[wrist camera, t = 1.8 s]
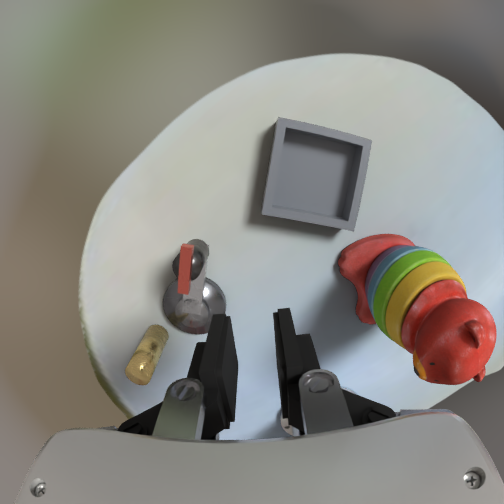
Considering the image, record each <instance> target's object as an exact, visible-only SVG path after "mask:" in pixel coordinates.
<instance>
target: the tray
mask: <svg viewBox="0 0 504 504" xmlns="http://www.w3.org/2000/svg"><path fill="white" fill-rule="evenodd" d="M371 143H372V140H369V139H366V138H362V137H359V136H356V135H352V134H349V133H345V132H341V131H338V130H334V129H330V128H326V127H322V126H318V125H314V124H309V123H305V122H300V121H295V120H290V119H285V118H280V117H278V119H277V121H276V126H275V131H274V137H273V143H272V149H271V155H270V161H269V166H268V172H267V178H266V184H265V190H264V195H263V201H262V207H261V213H262V215H268V216H274V217H280V218H286V219H291V220H297V221H303V222H308V223H314V224H319V225H324V226H330V227H335V228H340V229H345V230H350V231H354V228H355V224H356V220H357V216H358V211H359V207H360V202H361V197H362V192H363V188H364V182H365V177H366V172H367V166H368V161H369V155H370V149H371Z"/></svg>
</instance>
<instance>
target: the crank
mask: <svg viewBox="0 0 504 504" xmlns="http://www.w3.org/2000/svg"><path fill="white" fill-rule="evenodd" d="M208 256H209V245H207V244H206V243H205V242H204V241H202V240H199V239H193V240H191V241H189V242H188V243H187V244H182V246H181V250H180V253H179V254H178V256H177V257H176V258H175V260H174V261H173V271H174V273H175V275H176V276H177V277H178V293H180V294H183V297H182V298H181V299H180V300H179V301H178V303H177V305H176V308H175V315H176V317H177V319H178V320H179V322H180V323H182V324H183V325H185V326H187V327H191V328H197V327H200V326H202V325H204V324H205V323H206V321H207V319H208V315H209V306H208V304H207V302H206V301H205V300H204V299H203V296H204V286H205V277H206V268H207V259H208Z"/></svg>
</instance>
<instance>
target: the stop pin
mask: <svg viewBox="0 0 504 504" xmlns="http://www.w3.org/2000/svg"><path fill="white" fill-rule="evenodd" d="M168 337H169V335H168V332H167V331H166V329H165V328H163V327H162V326H159V325H152V326H150V327H149V328H148V330H147V332H146V333H145V335H144V337H143V339H142V340H141V342H140V344H139V346H138V348H137V349H136V351H135V353H134V355H133V356H132V358H131V360H130V362H129V364H128V365H127V367H126V369H125V374H126V376H127V377H128V379H129V380H131V381H132V382H133V383H135V384H138V385H147V384H148V383H149V382H150V379H151V377H152V375H153V372H154V370H155V368H156V365H157V363H158V361H159V358H160V356H161V354H162V351H163V349H164V347H165V345H166V342H167V340H168Z"/></svg>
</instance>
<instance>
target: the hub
mask: <svg viewBox="0 0 504 504" xmlns="http://www.w3.org/2000/svg"><path fill="white" fill-rule="evenodd" d="M182 297H183V294H180V293H178V279H176V280H175V281H174V282H172V284H171V285H170V286H169V288H168V289H167V291H166V293H165V295H164V299H163V307H164V311H165V314H166V316H167V318H168V319H169V320H170V322H171V323H172V324H173V325H174V326H176V327H177V328H179V329H180V330H182V331H184V332H187V333H191V334H205V333H208V332H209V328H210V324H211V320H212V316H213V314H225V311H226V299H225V296H224V294H223V292H222V290H221V289H220V287H219V286H218V285H217V284H216V283H215V282H213V281H212V280H210V279H208V278H206V277H205V286H204V296H203V299H204V300H205V301H206V302H207V304H208V306H209V315H208V319H207V321H206V323H205V324H204V325H202V326H200V327H197V328H191V327H187V326H185V325H183V324H182V323H180V322H179V320H178V319H177V317H176V315H175V308H176V305H177V303H178V301H179V300H180V299H181V298H182Z"/></svg>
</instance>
